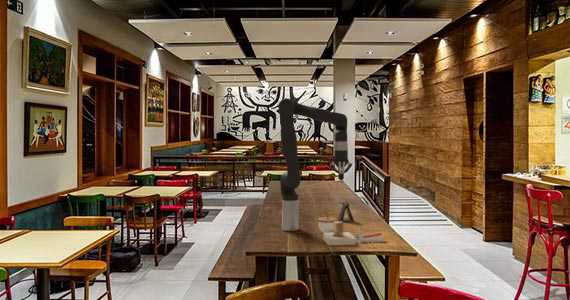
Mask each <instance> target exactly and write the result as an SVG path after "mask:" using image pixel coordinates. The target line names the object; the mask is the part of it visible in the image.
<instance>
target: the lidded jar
mask: <svg viewBox="0 0 570 300" xmlns="http://www.w3.org/2000/svg"><path fill="white" fill-rule="evenodd" d="M317 220H318V221H317V222H318V223H317V224H318V229H319V230H320V232H321V233H322V234H323V233H334V221H338V217H337V218H336V217H333V216H330V215H327V216H324V217H323V216H322V217H321V216H320V217H319V218H317Z"/></svg>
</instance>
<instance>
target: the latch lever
mask: <svg viewBox="0 0 570 300" xmlns="http://www.w3.org/2000/svg"><path fill="white" fill-rule="evenodd" d="M359 236H363V238H375V237H380V236H382V232H381V231H376V232H369V233H364V234H363V233H362V234H361V235H358V238H359Z"/></svg>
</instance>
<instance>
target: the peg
mask: <svg viewBox="0 0 570 300" xmlns="http://www.w3.org/2000/svg"><path fill="white" fill-rule="evenodd" d="M343 232H344V222H342V221H339V220H337V221H334V232H333V233H334V237H343Z"/></svg>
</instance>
